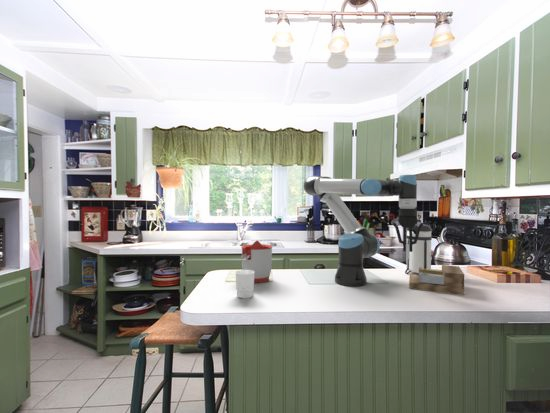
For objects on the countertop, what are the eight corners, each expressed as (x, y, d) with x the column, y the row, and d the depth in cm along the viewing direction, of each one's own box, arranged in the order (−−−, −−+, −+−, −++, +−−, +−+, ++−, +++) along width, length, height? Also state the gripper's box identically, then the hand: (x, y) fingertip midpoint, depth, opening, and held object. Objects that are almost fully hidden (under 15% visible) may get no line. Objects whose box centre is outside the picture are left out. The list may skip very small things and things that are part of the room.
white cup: (239, 300, 111) (239, 275, 111) (232, 294, 118) (233, 270, 118) (257, 297, 115) (257, 272, 115) (250, 291, 122) (250, 268, 122)
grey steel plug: (418, 282, 126) (419, 273, 126) (418, 279, 130) (418, 271, 130) (447, 285, 121) (447, 276, 121) (446, 283, 125) (446, 274, 125)
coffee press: (441, 277, 147) (442, 220, 147) (411, 277, 147) (411, 220, 147) (424, 269, 164) (425, 218, 164) (397, 269, 164) (397, 218, 164)
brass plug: (418, 276, 136) (418, 268, 136) (418, 274, 140) (418, 267, 140) (445, 279, 131) (445, 271, 131) (444, 277, 135) (444, 269, 135)
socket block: (409, 288, 127) (409, 268, 127) (409, 279, 142) (409, 262, 142) (464, 295, 118) (464, 274, 118) (458, 284, 133) (458, 266, 133)
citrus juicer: (232, 281, 138) (232, 240, 138) (256, 274, 151) (256, 237, 151) (254, 287, 128) (254, 244, 128) (278, 279, 141) (278, 240, 141)
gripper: (391, 208, 130) (392, 258, 130) (423, 208, 124) (423, 261, 124) (393, 208, 136) (393, 256, 136) (423, 208, 130) (423, 258, 130)
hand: (407, 258), depth 130 cm, fingers closed
